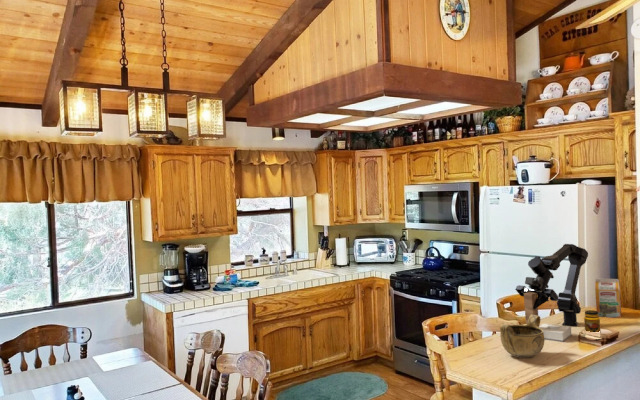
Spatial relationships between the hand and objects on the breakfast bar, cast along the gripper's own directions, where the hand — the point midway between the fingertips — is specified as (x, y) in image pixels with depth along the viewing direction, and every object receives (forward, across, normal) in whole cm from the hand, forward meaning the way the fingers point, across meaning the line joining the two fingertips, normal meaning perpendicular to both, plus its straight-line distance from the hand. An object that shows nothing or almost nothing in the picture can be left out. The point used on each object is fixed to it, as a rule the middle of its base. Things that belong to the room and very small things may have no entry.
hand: (529, 308), depth 233 cm
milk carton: (-33, +4, +54) cm, 63 cm away
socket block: (+4, +6, +15) cm, 17 cm away
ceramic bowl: (+27, +13, -8) cm, 31 cm away
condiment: (-2, +18, +22) cm, 29 cm away
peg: (+4, 0, +6) cm, 8 cm away
